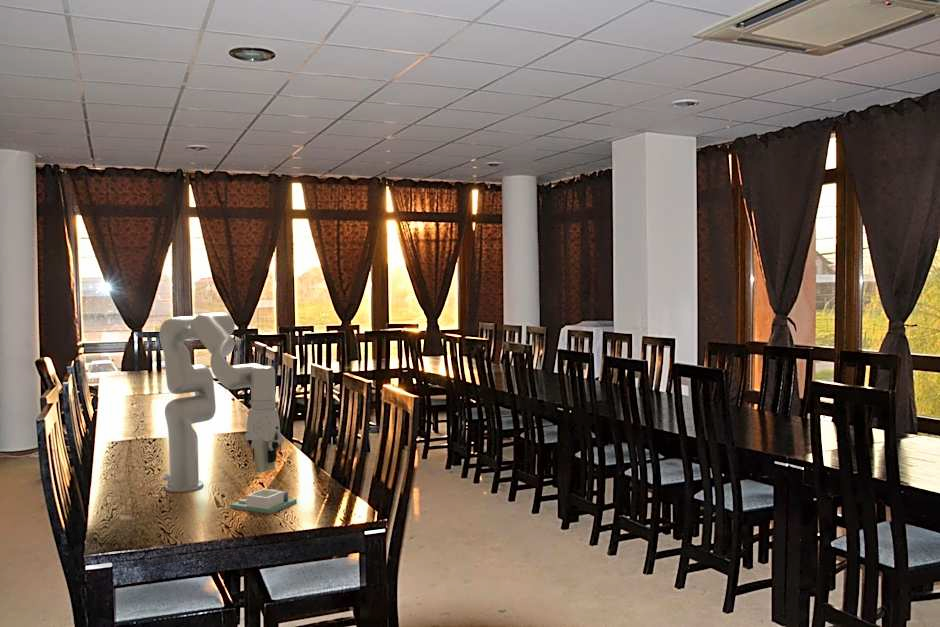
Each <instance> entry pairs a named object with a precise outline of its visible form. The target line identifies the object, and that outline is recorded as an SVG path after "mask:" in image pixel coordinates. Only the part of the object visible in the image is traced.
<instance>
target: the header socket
mask: <svg viewBox="0 0 940 627" xmlns="http://www.w3.org/2000/svg"><path fill="white" fill-rule="evenodd" d="M284 492H285V491H282V490H277V489H272V488H271V489H267V488H261V489H259V490H256V491H253V492H252V493H249V494H246V500H247V506H249V507H256V508H264V509H269V508H271V507H274V506H276V505H278V504H281V503H283V502H284Z"/></svg>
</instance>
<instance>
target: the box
mask: <svg viewBox="0 0 940 627" xmlns="http://www.w3.org/2000/svg"><path fill="white" fill-rule="evenodd" d="M272 444H273V443H272ZM269 450H270V449H269V445H268V442H263V441H262V438H259V440H258V441H254V461H253V462H254V471H256V472H261V473H265V472H269V471H272V470H275V469H276V461H275V462H272V463H269V462H268V451H269Z"/></svg>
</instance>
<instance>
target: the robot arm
mask: <svg viewBox="0 0 940 627" xmlns="http://www.w3.org/2000/svg"><path fill="white" fill-rule="evenodd" d="M234 331H235V321H234V319H233V317H232V316H231V315H230V314H228V313H227V312H207V313H206V312H205V313H200V314H197V315H190V316H189V315H187V316H185V315H184V316H175V317H174V316H173V317H170V318H168V319H166V320H164V321H163V323H162V324H161V325H160V328H159V331H158V333H159V335H158V338H159V342H160V346H161V349H162V351H163V358H164V366H165V377H166V385H167V390H168V391H169V392H170V393H171V394H174V395H182V394H188V393H194V395H191V396H184V397H179V398H178V397H177V398H175V399H172V400H170V401H169V402H167V404H166V405H165V408H164V416H165V421H166V425H167V432H168V433H167V434H168V453H169V454H168V458H169V460H168V462H169V473H165V474H164V476H162V481H166V482H167V484H166V485H165V486H164V488H165V491H167V492H171V493H186V492H193V491H197V490H200V489H202V488H203V487H204V482H203V481H202V480H199V479H200V478H199V477H200V476H199V440H198V435H197V432H196V430H195V429H194V428H193V426H192V424H197V423H204V422H207V421H210V420H212V419H213V418H214V416H215V413H216V409H217V408H216V407H217V406H216V396H215V384H214V377H215V378H216V380H218V382H219V383H220V384H221V385H222V386H223V387H225V388H226V389H229V390H238V389H243V388H245V389H246V388H250V400H249V401H248V404H249V405H251V406H250V407H251V408H249V410H248V413H247V420H246V421H247V422H246V433H245V435H244V436H243V438H244V439H245V440H246V441H247V443H248V444H249V445H250V448H251V449H252V461H253V462H254V441H258V440H259V438H262V441H263V442H268V445H269V449H270V450H269V451H268V462H269V463H272V462H275V463H276V461H277V449H279V446H280V445H281V444H282V443H284V442H285V438H284V436H283V435H282V433H281V425H280V424H281V422H280V417H279V411H278V409H277V407H276V400H277V399H276V369H275V367H274V366H271V365H262V364H259V363H255V362H251V363H242V364H235V365H231V364H230V363H229V361H227V359H226V357H228V356H229V355H230V354H231V353H232V352H233V350H234V348H235V345H236V342H235V340H234V338H233V337H232V336H231V335H232V334H233V333H234ZM187 341H189V342H192V341H200V343H201V344H202V345H203V346H204V347H205V348H206V349H207V350H208V352H209V353H210V354H211V356H210V368H211V370H210V368H209V367H208V366H207V365H205V364H199V363H198V364H192V359H191V353H190V351H189V349H188V347H187V346H186V344H184V342H187ZM212 373H213V374H212ZM213 375H214V377H213ZM272 443H273V444H272Z"/></svg>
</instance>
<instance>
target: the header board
mask: <svg viewBox="0 0 940 627" xmlns="http://www.w3.org/2000/svg"><path fill="white" fill-rule="evenodd" d="M283 492H284V502H283V503H281V504H278V505H276V506H274V507H271V508H269V509H264V508H256V507H249V506H247V500H246V498H243V499H242V498H240V499H239V500H238V501H235V502H233V503H230V508H231V509H234V510H235V509H236V510H240V511H241V510H242V511H248V510H249V512H254V513H255V512H257V513H262V514H271V515H272V514H276V513H278V512H280V511H282V510H284V509H286V508H288V507H290V506H293V505H295V504H297V498H290V497H289V491H283Z"/></svg>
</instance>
